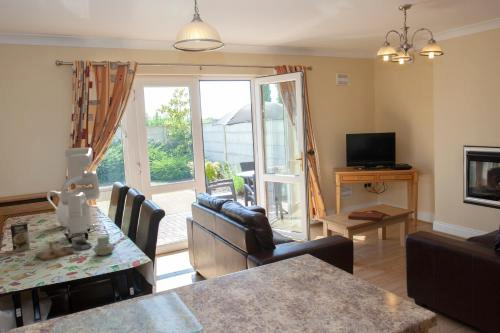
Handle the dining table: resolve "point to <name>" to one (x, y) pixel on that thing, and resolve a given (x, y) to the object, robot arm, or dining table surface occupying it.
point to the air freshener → (103, 246)
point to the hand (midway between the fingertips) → (78, 241)
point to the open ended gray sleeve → (80, 243)
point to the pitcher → (60, 208)
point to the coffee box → (20, 236)
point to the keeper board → (57, 254)
